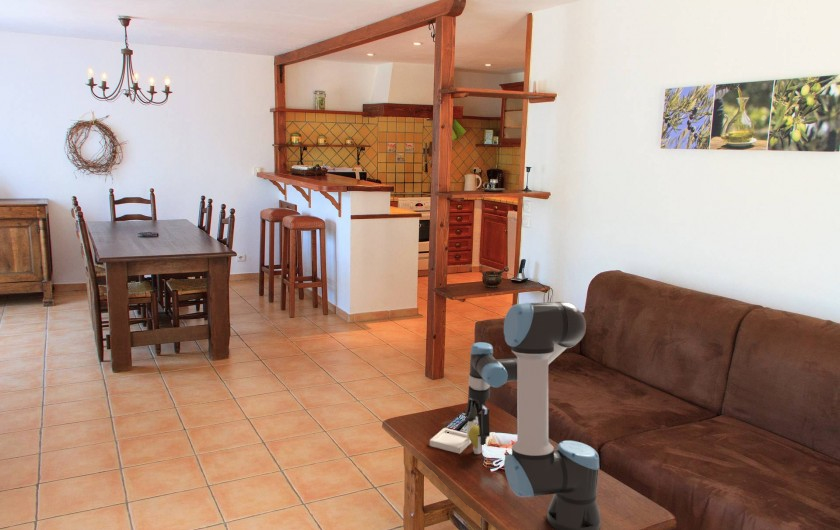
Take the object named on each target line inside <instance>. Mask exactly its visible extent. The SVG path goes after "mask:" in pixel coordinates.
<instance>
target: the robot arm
mask: <svg viewBox="0 0 840 530" xmlns="http://www.w3.org/2000/svg"><path fill="white" fill-rule="evenodd" d="M586 329H587V322H586V318H585V316H584V314H583V313H582V311H581V310H580V309H579V308H578V307H577V306H575V305H573V304H572V303H569V302H565V301H554V302H553V301H552V302H548V301H547V302H523V303H517V304H514V305H512V306H510V308H509V309H508V311H507V312H506V315H505V318H504V322H503V336H504V341H505V343H506V344H507V346H509V347H511V352H512V353H513V354H514V355H515V356H516V357H514V358H499V359H496V357H494V356H493V354H494V348H493V347H494V346H493V345H492V344H491V343H488V342H479V341H478V342H475V343H473V344H472V345H471V348H470V352H469V353H470V355H469V356H470V357H469V358H470V359H469V360H470V361H469V373H468V385H469V386H468V393H467V394H468V395H467V397H468V398H467V404H466V409H465V417H466V420H467V428H466V429H467V431H466V433H467V439H470V438H469V431H470V429H471V428H472V427H473V426H476V422H477V424H478V425H479V433H480V435H478V449H477V452H478V453H480V454H481V453H483V452H482V445H484V444H487V439H486V437H487V438H489V437H490V435H491V434H490V408H489V407H487V405H486V401H487V400H488V399H490V397H491V387H492V388H500V387H502V386H503V385H505V384H506V383H509V382H516V383H517V384H516V385H517V386H516V392H517V393H516V394H517V395H516V399H517V402H516V403H517V406H516V407H517V409H516V410H517V411H516V412H517V413H516V415H517V418H516V419H517V421H516V422H517V423H516V424H517V427H516V428H517V432H516V433H517V434H516V435H517V436H516V437H517V439H516V441H515V442H514V443H513V444H512V446H511V453H509V454H507V455H506V456H505V458H504V462H503V463H504V465H503V467H504V471H505V477H506V479H507V483H508V485H509V487H510V490H511V491H512V493H514V495H515V496H517V497H518V498H534V497H538V496H539V497H541V496H546V495H553V496H552V499H551V501H550V504H549V505H548V508H547V515H546V519H547V522H548V523H549V525H550V526H551V527H552V528H553V529H555V530H600V528H601V524H602V523H601V521H602V519H601V518H602V517H601V513H600V509H599V505H598V502H597V494H598V493H597V492H598V479H599V471H600V457H599V453H598V452H597V451H596V449H594V448H593V447H592V446H590V445H588V444H586V443H583V442H581V441H580V442H579V441H576V440H563V441H560V442H559V443H558V445H557V449H554V448H555V447H554V446H553V445H552V444H551V443H550V441H549V365H550V364H551V363H552V362H554V360H555V359H556V358H558V357H559V356H560V355H561V354H562V353H563V352H565V350H567V349H570V348H572V347H575V346H576V345H577V344H578V343H580V342H581V340H582V339H583V338H584V336H585V334H586ZM476 417H477V418H476ZM476 420H477V421H476Z"/></svg>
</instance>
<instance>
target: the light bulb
mask: <svg viewBox="0 0 840 530" xmlns="http://www.w3.org/2000/svg"><path fill="white" fill-rule="evenodd" d="M478 435H480V433H479V425H477V424H475V426H473V427H472V428H471V429H470V431H469V438H470V440H471V444H472V445H473V446H472V450H473V453H474V454H475V455H480V454H481V453H478V452H477V449H478ZM487 439H488V437H486V440H487Z"/></svg>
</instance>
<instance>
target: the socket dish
mask: <svg viewBox="0 0 840 530" xmlns="http://www.w3.org/2000/svg"><path fill="white" fill-rule="evenodd" d="M447 432H449V433H447ZM471 444H472V442H471V440H470V439H467V432H462V431H459V430H455V429H451V428H447V427H443V428H442V429H441V430H440V431H439V432H438V433H436V434H435V435H434V436H433V437H431V438H430V439H429V446H430V447H433V448H437V449H440V450H444V451H448V452H452V453H455V454H461V453H462V452H463V451H464V450H465V449H466V448H467V447H468V446H470V445H471Z"/></svg>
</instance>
